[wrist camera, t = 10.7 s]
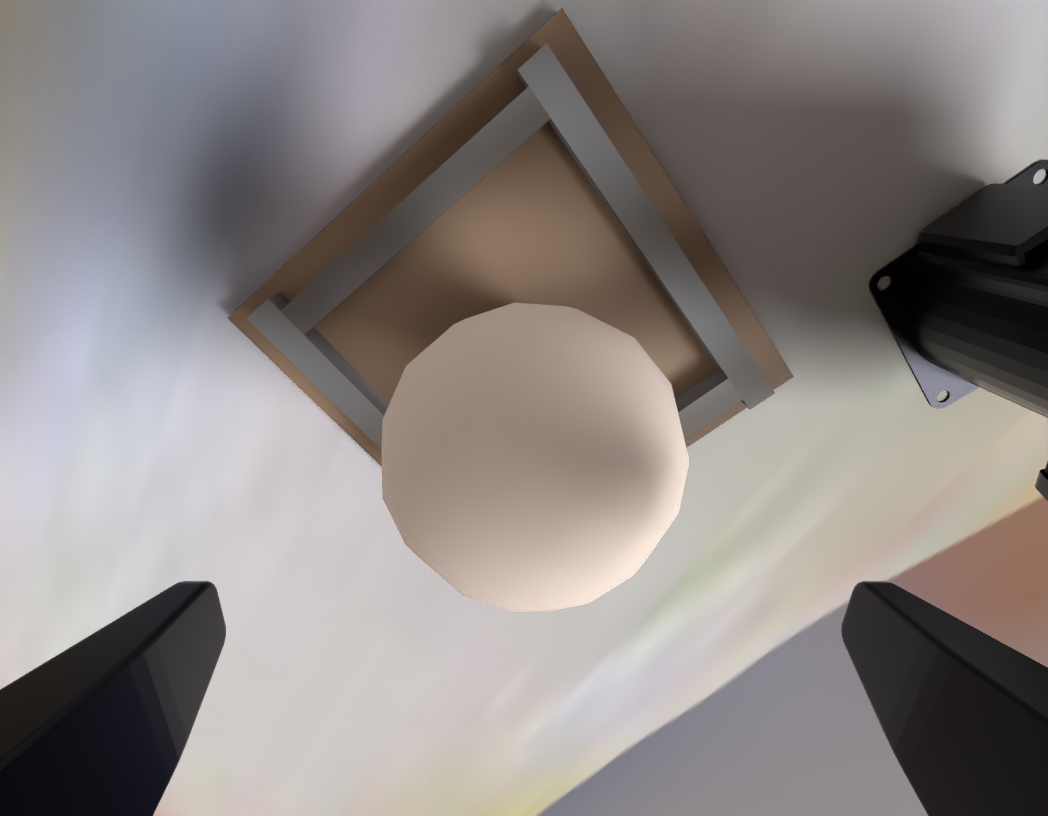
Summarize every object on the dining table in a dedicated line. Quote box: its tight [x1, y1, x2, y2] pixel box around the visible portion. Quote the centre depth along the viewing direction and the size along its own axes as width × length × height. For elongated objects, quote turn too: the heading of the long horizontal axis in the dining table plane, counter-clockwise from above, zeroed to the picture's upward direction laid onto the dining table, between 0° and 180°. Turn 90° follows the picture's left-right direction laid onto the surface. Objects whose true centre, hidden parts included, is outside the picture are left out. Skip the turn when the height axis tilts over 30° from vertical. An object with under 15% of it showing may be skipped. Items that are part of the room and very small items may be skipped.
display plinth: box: [228, 8, 794, 466], centre depth 19 cm, size 14×14×2 cm
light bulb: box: [381, 302, 690, 612], centre depth 14 cm, size 7×7×11 cm
